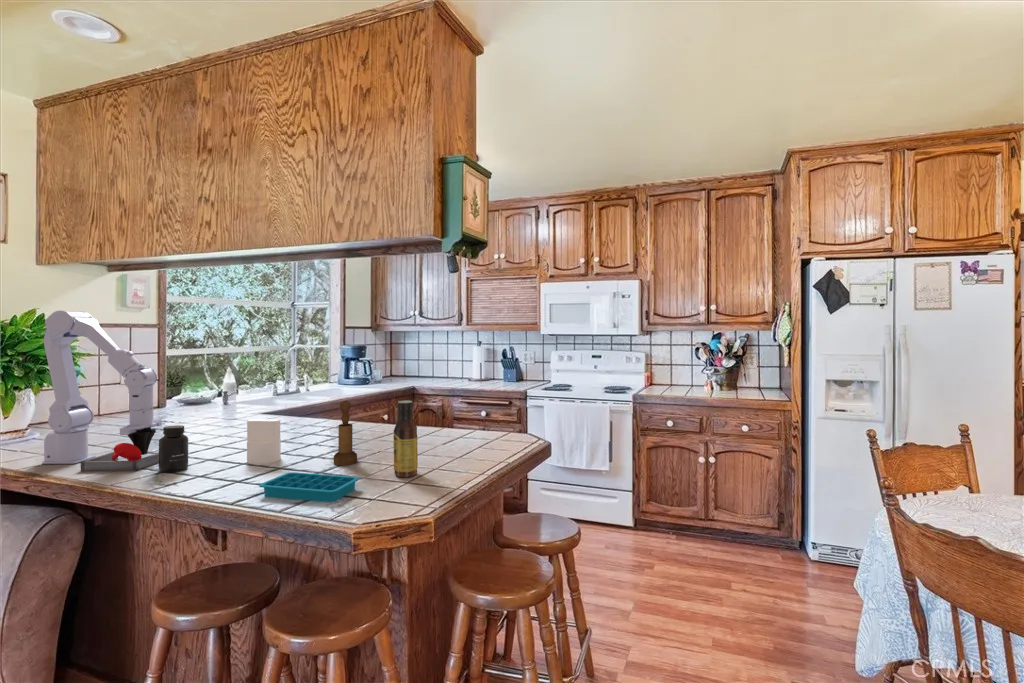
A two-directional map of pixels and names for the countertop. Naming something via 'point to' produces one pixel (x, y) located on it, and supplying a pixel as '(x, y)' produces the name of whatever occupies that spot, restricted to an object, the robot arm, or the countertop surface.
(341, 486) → the ice cube tray
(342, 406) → the brown wooden pepper mill
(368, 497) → the countertop surface
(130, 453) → the red curved piece
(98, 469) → the tray
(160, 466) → the supplement bottle
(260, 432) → the cream upright block
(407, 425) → the sauce bottle
